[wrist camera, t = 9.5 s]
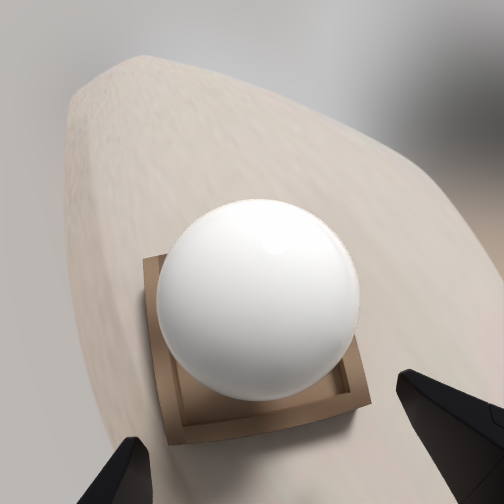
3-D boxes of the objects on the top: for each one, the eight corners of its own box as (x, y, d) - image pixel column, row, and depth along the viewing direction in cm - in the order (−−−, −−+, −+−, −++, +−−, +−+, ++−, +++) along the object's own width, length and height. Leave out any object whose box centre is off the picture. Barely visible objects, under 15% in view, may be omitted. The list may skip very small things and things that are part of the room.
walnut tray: (359, 401, 16) (371, 403, 14) (179, 438, 15) (168, 445, 13) (314, 239, 20) (320, 223, 18) (154, 271, 20) (142, 258, 18)
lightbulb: (334, 311, 17) (416, 208, 7) (287, 411, 15) (326, 456, 5) (237, 268, 18) (207, 130, 8) (186, 360, 16) (76, 317, 6)
